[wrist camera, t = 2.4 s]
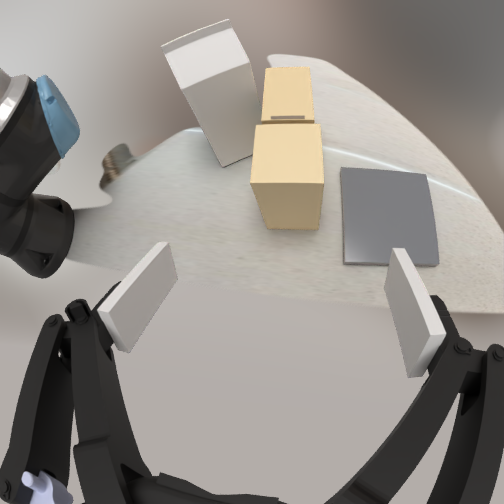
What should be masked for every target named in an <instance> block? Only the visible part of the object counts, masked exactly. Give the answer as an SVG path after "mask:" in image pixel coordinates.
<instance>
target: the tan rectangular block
mask: <svg viewBox="0 0 504 504" xmlns="http://www.w3.org/2000/svg"><path fill="white" fill-rule="evenodd" d="M250 184H251V187H252V189H253V192H254V194H255V197H256V200H257V202H258V205H259V208H260V210H261V213H262V216H263V218H264V221H265V224H266V226H267V229H299V230H318V227H319V220H320V212H321V204H322V196H323V187H324V174H323V156H322V141H321V128H320V124H264V125H256V129H255V139H254V149H253V159H252V169H251V180H250Z"/></svg>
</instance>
